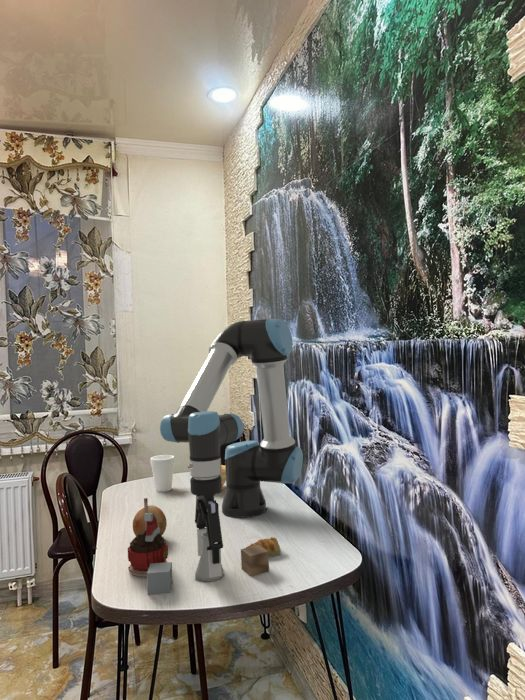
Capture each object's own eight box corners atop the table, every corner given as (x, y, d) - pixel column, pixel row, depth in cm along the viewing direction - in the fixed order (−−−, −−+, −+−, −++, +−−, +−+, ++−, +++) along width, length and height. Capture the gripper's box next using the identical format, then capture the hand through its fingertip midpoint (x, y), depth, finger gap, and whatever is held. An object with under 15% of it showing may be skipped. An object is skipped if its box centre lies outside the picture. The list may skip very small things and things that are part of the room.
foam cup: (172, 492, 189) (171, 459, 189) (149, 493, 189) (148, 460, 190) (177, 485, 199) (176, 454, 199) (155, 486, 199) (153, 455, 199)
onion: (155, 549, 133) (154, 513, 133) (125, 545, 137) (124, 510, 137) (173, 536, 142) (172, 502, 142) (145, 533, 146) (144, 500, 146)
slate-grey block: (172, 583, 113) (171, 562, 113) (170, 593, 108) (169, 571, 108) (151, 584, 112) (150, 563, 112) (147, 595, 107) (146, 573, 107)
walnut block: (259, 564, 121) (258, 544, 121) (269, 571, 116) (268, 551, 117) (241, 569, 118) (240, 549, 118) (250, 577, 114) (250, 556, 114)
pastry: (249, 563, 122) (249, 548, 122) (240, 553, 128) (240, 539, 129) (282, 555, 126) (282, 541, 126) (272, 546, 132) (271, 532, 132)
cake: (138, 560, 126) (135, 492, 126) (172, 561, 125) (170, 492, 125) (122, 580, 115) (119, 505, 115) (159, 580, 114) (156, 504, 114)
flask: (219, 583, 111) (218, 540, 112) (190, 581, 113) (188, 539, 113) (227, 569, 119) (226, 529, 119) (200, 568, 120) (198, 528, 120)
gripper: (181, 467, 126) (184, 548, 126) (201, 490, 103) (204, 590, 103) (209, 464, 129) (212, 544, 129) (234, 486, 106) (238, 583, 105)
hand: (209, 565), depth 116 cm, fingers open, 12 cm apart
